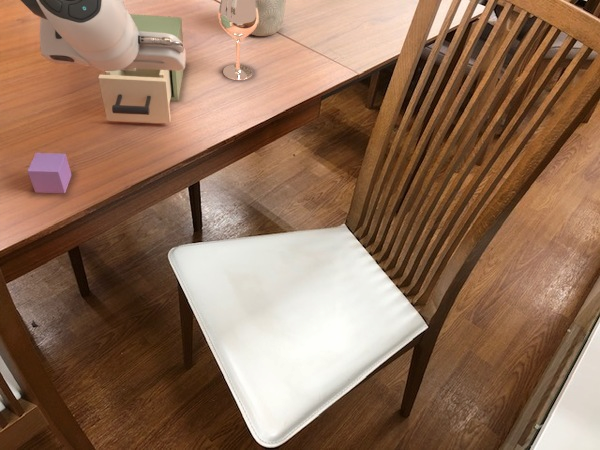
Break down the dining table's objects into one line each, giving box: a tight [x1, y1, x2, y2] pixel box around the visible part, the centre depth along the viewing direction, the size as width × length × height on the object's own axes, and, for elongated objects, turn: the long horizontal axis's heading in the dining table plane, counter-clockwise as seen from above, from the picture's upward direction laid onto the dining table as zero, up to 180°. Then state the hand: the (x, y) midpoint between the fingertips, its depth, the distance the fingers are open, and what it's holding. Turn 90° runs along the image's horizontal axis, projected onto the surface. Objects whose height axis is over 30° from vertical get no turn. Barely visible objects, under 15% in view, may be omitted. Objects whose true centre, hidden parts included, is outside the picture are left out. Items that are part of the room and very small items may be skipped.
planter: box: [250, 0, 287, 37], centre depth 123 cm, size 12×12×11 cm
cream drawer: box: [97, 68, 173, 124], centre depth 94 cm, size 18×11×9 cm, turn 4°
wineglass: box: [217, 0, 259, 81], centre depth 105 cm, size 8×8×18 cm
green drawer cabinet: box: [129, 13, 185, 102], centre depth 102 cm, size 15×13×11 cm
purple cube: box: [27, 152, 73, 194], centre depth 80 cm, size 4×4×4 cm
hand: (127, 65), depth 84 cm, fingers closed
